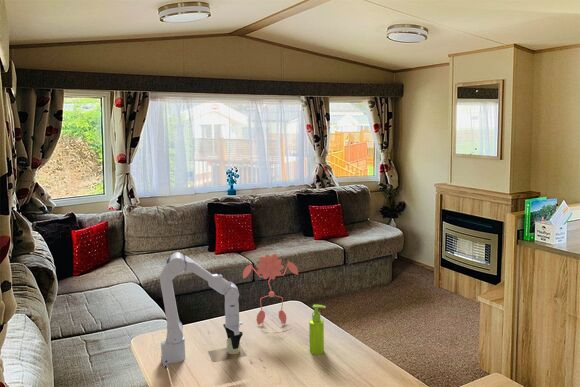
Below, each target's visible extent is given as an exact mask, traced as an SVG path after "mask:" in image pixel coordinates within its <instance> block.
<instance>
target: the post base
mask: <svg viewBox="0 0 580 387" xmlns="http://www.w3.org/2000/svg"><path fill="white" fill-rule="evenodd" d="M207 353H208V355H209V358H210V359H211V361H212V363H217V362H222V361H227V360H233V359H238V358H242V357H247V354H246V352H245V350H244V349H243V346H242V345H241V344H240V352H239V353H237V354H229V353H228V352H227V347H224V348H219V349H218V348H217V349H213V350H207Z"/></svg>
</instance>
